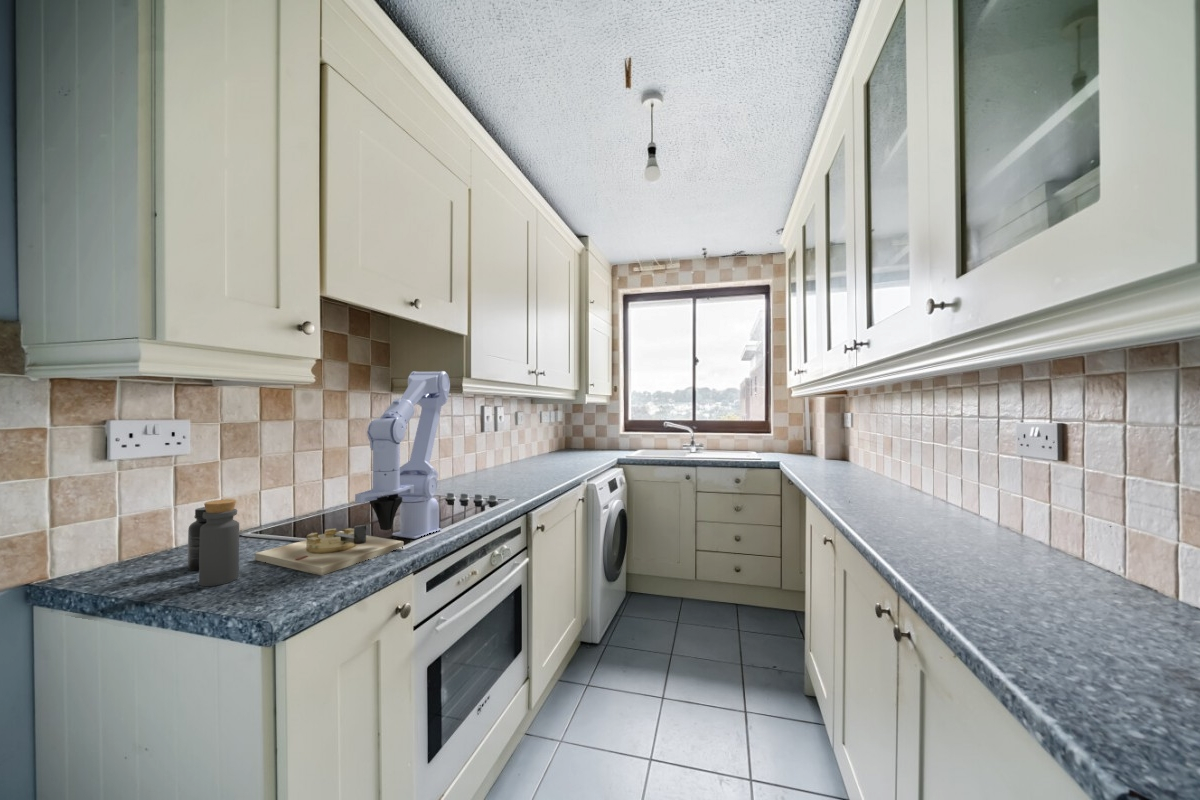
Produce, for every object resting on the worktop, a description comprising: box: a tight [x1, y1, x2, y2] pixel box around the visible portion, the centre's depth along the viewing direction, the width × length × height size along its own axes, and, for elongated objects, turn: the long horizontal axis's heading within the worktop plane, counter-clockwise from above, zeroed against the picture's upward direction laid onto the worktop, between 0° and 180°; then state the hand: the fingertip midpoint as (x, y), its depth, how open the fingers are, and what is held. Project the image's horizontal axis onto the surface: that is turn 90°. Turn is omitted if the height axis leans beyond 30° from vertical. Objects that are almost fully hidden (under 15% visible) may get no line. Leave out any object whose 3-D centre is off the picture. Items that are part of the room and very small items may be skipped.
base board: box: [254, 530, 405, 577], centre depth 105 cm, size 20×22×2 cm
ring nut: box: [305, 524, 367, 553], centre depth 104 cm, size 10×15×6 cm, turn 65°
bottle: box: [198, 498, 240, 587], centre depth 89 cm, size 6×6×15 cm
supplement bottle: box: [187, 506, 207, 571], centre depth 97 cm, size 7×7×12 cm
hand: (385, 529), depth 107 cm, fingers closed
